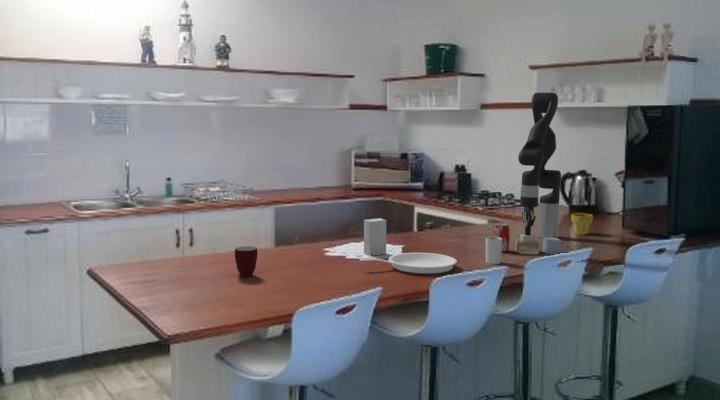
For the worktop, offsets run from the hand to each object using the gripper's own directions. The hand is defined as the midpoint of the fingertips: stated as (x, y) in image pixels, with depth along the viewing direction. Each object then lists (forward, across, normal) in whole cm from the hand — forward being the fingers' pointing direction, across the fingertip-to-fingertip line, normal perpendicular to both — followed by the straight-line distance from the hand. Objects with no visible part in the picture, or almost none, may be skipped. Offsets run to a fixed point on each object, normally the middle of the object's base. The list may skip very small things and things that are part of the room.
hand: (527, 234), depth 287 cm
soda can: (+8, +2, +11) cm, 14 cm away
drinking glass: (+8, -21, +20) cm, 30 cm away
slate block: (+8, 0, -11) cm, 13 cm away
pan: (+8, -32, +56) cm, 65 cm away
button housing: (+8, 0, 0) cm, 8 cm away
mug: (+8, -44, +117) cm, 125 cm away
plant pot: (+8, +47, -42) cm, 64 cm away
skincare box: (+8, -6, +67) cm, 68 cm away
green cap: (+5, 0, 0) cm, 5 cm away
